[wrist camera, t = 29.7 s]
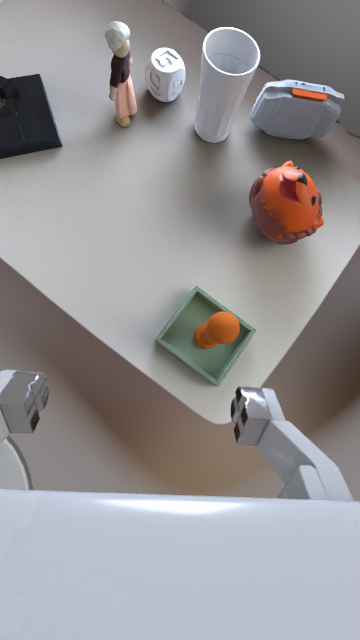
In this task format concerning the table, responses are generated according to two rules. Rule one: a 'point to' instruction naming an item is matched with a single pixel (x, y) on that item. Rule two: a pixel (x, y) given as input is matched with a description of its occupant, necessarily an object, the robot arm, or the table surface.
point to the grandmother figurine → (121, 73)
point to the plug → (217, 330)
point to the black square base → (26, 117)
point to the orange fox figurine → (286, 204)
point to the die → (165, 74)
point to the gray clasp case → (296, 109)
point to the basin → (182, 344)
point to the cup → (223, 80)
